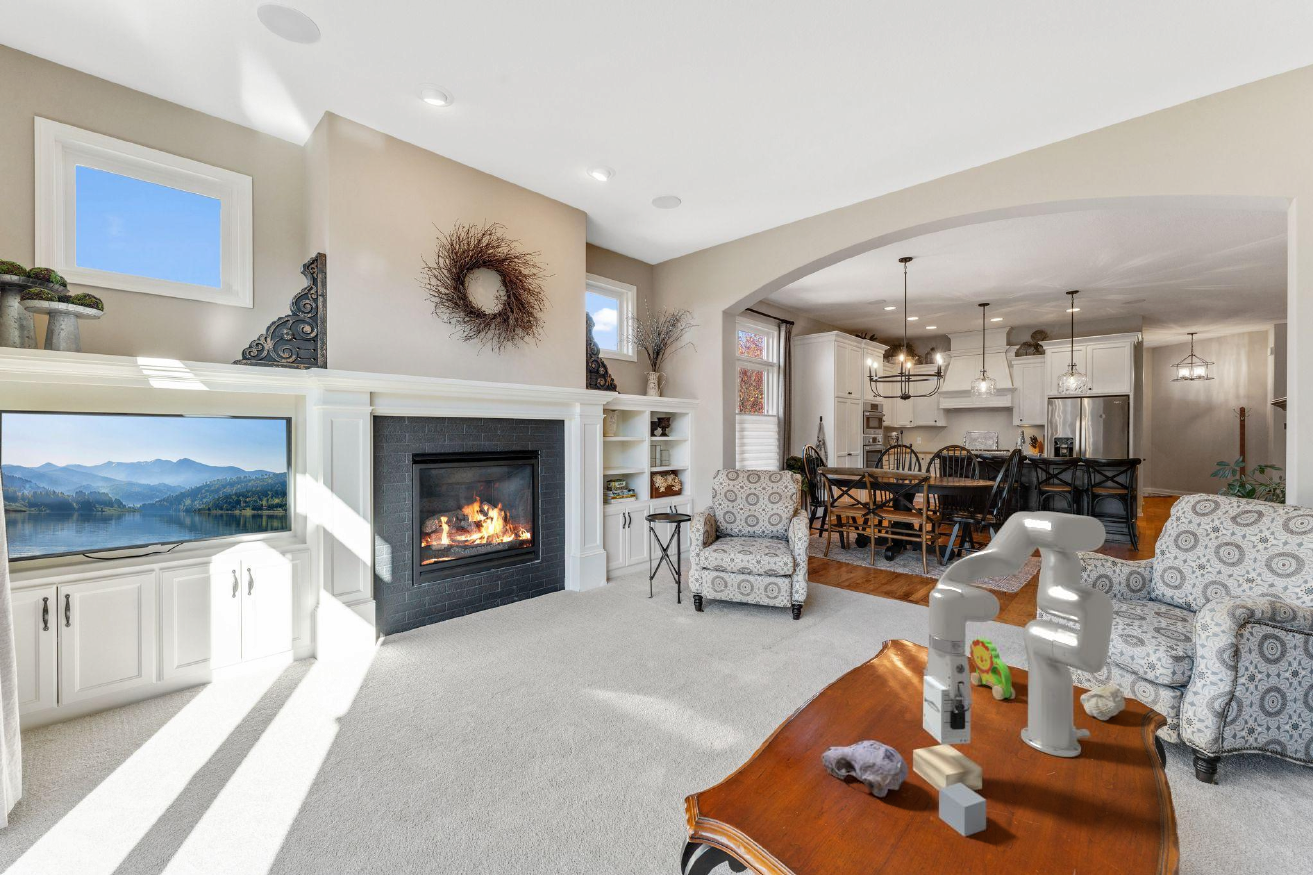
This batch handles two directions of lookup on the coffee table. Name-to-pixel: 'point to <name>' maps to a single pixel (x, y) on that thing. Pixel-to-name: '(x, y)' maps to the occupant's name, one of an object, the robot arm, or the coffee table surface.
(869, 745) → the skull
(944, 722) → the supplement box
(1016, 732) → the coffee table surface
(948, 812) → the slate block
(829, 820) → the coffee table surface
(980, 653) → the toy lion
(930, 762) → the maple block
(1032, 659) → the robot arm
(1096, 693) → the fossil replica
